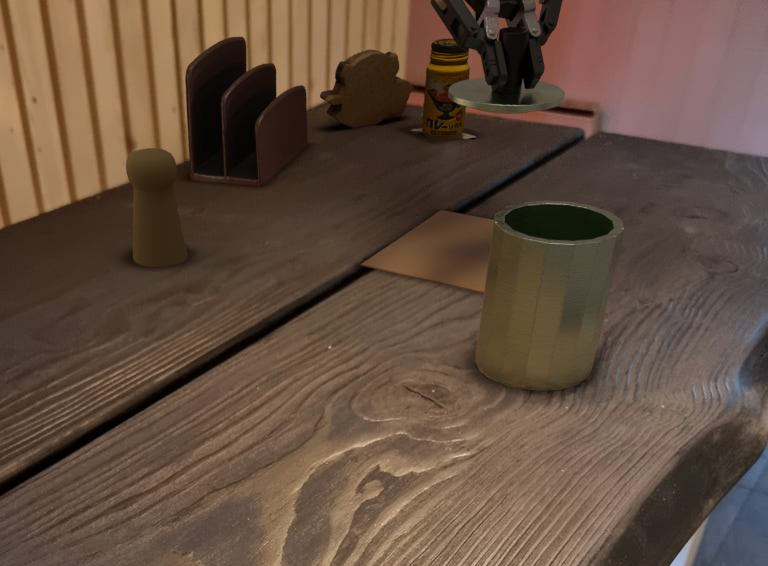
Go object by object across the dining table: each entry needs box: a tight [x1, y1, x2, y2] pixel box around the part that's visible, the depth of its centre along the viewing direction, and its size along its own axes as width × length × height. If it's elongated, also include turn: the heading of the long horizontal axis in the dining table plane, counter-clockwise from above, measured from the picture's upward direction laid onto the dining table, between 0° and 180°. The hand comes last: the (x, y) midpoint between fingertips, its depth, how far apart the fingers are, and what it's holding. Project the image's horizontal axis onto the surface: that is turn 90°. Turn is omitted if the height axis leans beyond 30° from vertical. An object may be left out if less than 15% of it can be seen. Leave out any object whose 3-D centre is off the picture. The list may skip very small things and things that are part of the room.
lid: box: [448, 26, 566, 115], centre depth 89 cm, size 11×11×6 cm
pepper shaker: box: [125, 147, 188, 268], centre depth 97 cm, size 6×6×11 cm
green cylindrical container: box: [474, 200, 625, 392], centre depth 78 cm, size 10×10×12 cm
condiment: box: [411, 38, 477, 140], centre depth 132 cm, size 7×8×12 cm
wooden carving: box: [319, 49, 414, 129], centre depth 137 cm, size 16×5×10 cm, turn 130°
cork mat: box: [360, 209, 494, 294], centre depth 101 cm, size 20×20×1 cm
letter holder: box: [184, 36, 309, 188], centre depth 122 cm, size 10×20×14 cm, turn 161°
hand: (517, 84), depth 88 cm, fingers closed on lid, 3 cm apart
